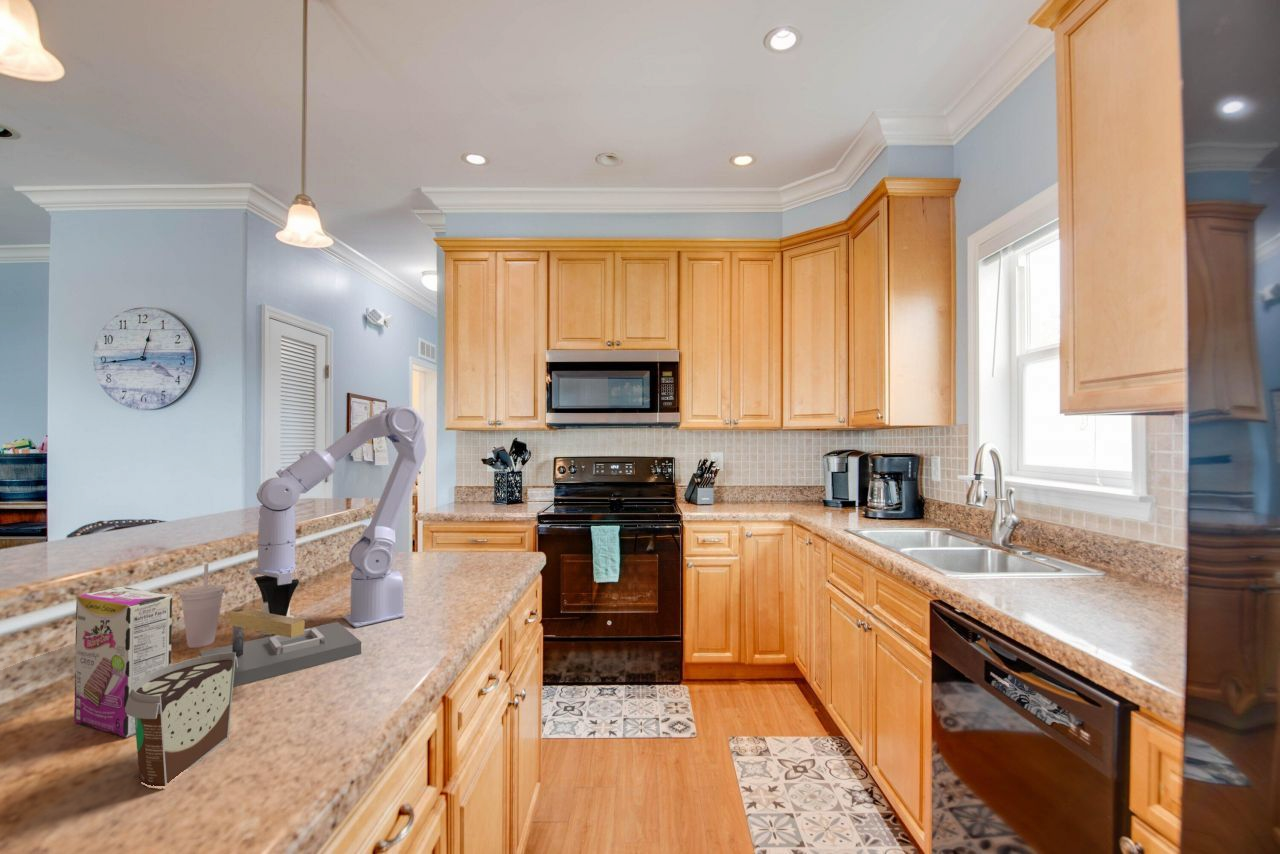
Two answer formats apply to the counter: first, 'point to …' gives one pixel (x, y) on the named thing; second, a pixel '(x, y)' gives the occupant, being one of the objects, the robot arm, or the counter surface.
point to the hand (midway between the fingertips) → (275, 616)
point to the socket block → (291, 652)
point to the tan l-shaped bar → (262, 626)
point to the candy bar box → (117, 652)
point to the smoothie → (201, 612)
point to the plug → (265, 609)
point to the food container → (181, 714)
